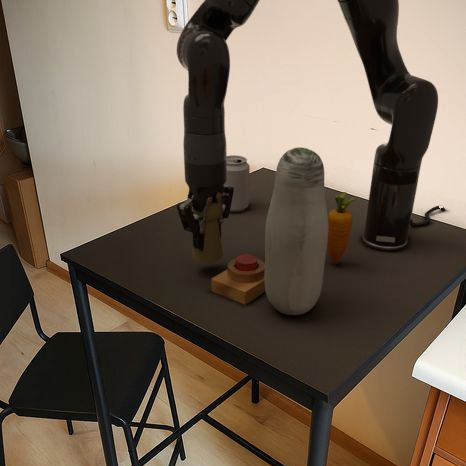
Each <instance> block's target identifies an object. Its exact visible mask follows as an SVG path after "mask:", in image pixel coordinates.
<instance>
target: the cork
mask: <svg viewBox="0 0 466 466" xmlns="http://www.w3.org/2000/svg"><path fill="white" fill-rule="evenodd" d="M194 214H195V215H197V216H202V214H203V212H198V211H195V210H194ZM219 215H220V206H219V205H218V204H216V203H215V202H214V203H212V204H211V206H210V208H209V209H208V212H207V214H206V216H207V221H206V222H205V229H204V233H205V237H204V250H203V251H200V249H197V248H196V249H195V248H194V247H193V246H192V252H191V257H192V259H193V260H194V261H196V262H198V263H203V264H211V263H216V262H219V261H221V260H222V259H223V256H224V253H223V247H222V241H221V239H222V238H221V239H220V233H219V226H218V217H219ZM196 220H197V219H196ZM197 225H198V226H199V220H197Z"/></svg>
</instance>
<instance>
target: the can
mask: <svg viewBox="0 0 466 466" xmlns="http://www.w3.org/2000/svg"><path fill="white" fill-rule="evenodd" d="M247 161H248V159H247V157H245V156H242V155H235V154H233V155H232V154H231V155H227V180H226V183H225V184H224V185H228V186H231V187H234V193H233V198H232V203H231V208H230V213H241V212H243V211H245V210H246V209H247V208H248V207H249V205H250V171H251V169H250V168H251V167H250V166H251V165H250V164H249V163H248V162H247ZM222 207H223V211H224V209H225V205H224V204H223V206H222Z"/></svg>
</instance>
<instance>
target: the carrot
mask: <svg viewBox="0 0 466 466" xmlns="http://www.w3.org/2000/svg"><path fill="white" fill-rule="evenodd" d="M346 198H347V191H343V192H342V194H340V195H339V194H338V195H336V196H334V200H335V203H336V205H337V206H336V207H337V208H334V209H332V210H331V211H330V212H329V213H327V214H328V242H327V253H328V256H329V259H330V261H331V263H332V264H333V265H334V266H336V265H337V264H339V262H340V261H341V259H342V258H343V256H344V254H345V252H346V249H347V247H348V244H349V242H350V238H351V233H352V227H353V220H354V215H353V213H352V212H351V211H349V210H348V209H347V207H348V206H349V205H350V204H351V203H353V202H355V201H356V198H354V197H352V198H350V199H348V200H347V201H346Z"/></svg>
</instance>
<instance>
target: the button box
mask: <svg viewBox="0 0 466 466" xmlns="http://www.w3.org/2000/svg"><path fill="white" fill-rule="evenodd" d="M210 280H211V281H210V282H211V292H213V293H215V294H217V295H220V296H222V297H225V298H227V299H230V300H232V301H235V302H237V303H240V304H242V305H247V304H249V303H250V302H252V301H253V300H255V299H256V298H258V297H259V296H261V295H262V294H264V293H266V291H265V261H263V260H262V259H259V258H257V269H256V270H253V271H240V270H238V269H236V258H233V259H232V260H229V262H228V264H227V269H225V270H223V271H222V272H220V273H218V274H217V275H215V276H213V277H211V279H210Z"/></svg>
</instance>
